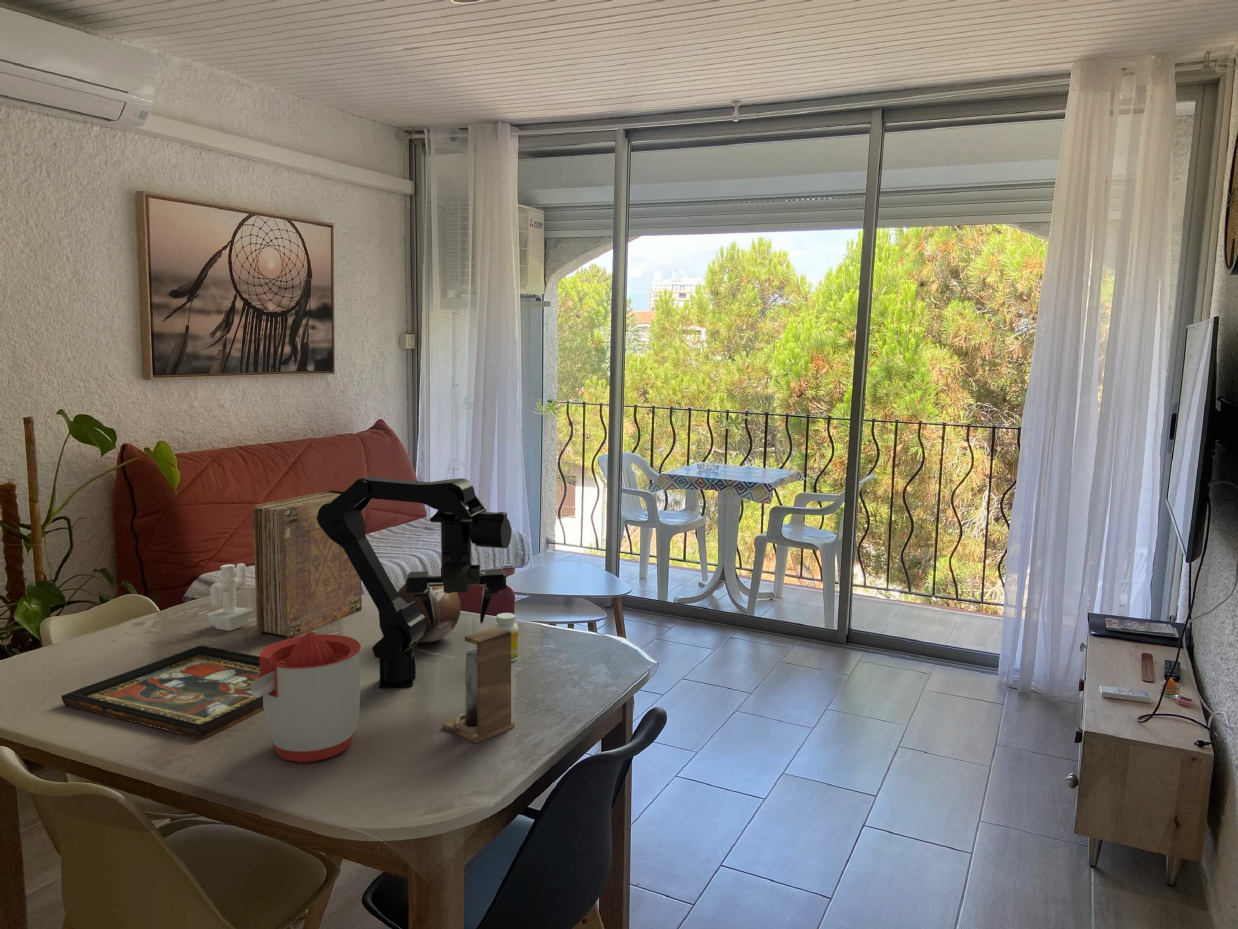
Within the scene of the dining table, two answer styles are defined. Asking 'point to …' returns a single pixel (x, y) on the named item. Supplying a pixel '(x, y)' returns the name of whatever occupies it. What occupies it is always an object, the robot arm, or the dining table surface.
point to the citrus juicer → (310, 695)
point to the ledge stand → (489, 687)
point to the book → (300, 568)
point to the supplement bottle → (508, 623)
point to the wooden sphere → (436, 612)
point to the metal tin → (471, 689)
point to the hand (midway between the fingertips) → (457, 623)
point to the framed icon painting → (180, 692)
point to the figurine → (229, 599)
